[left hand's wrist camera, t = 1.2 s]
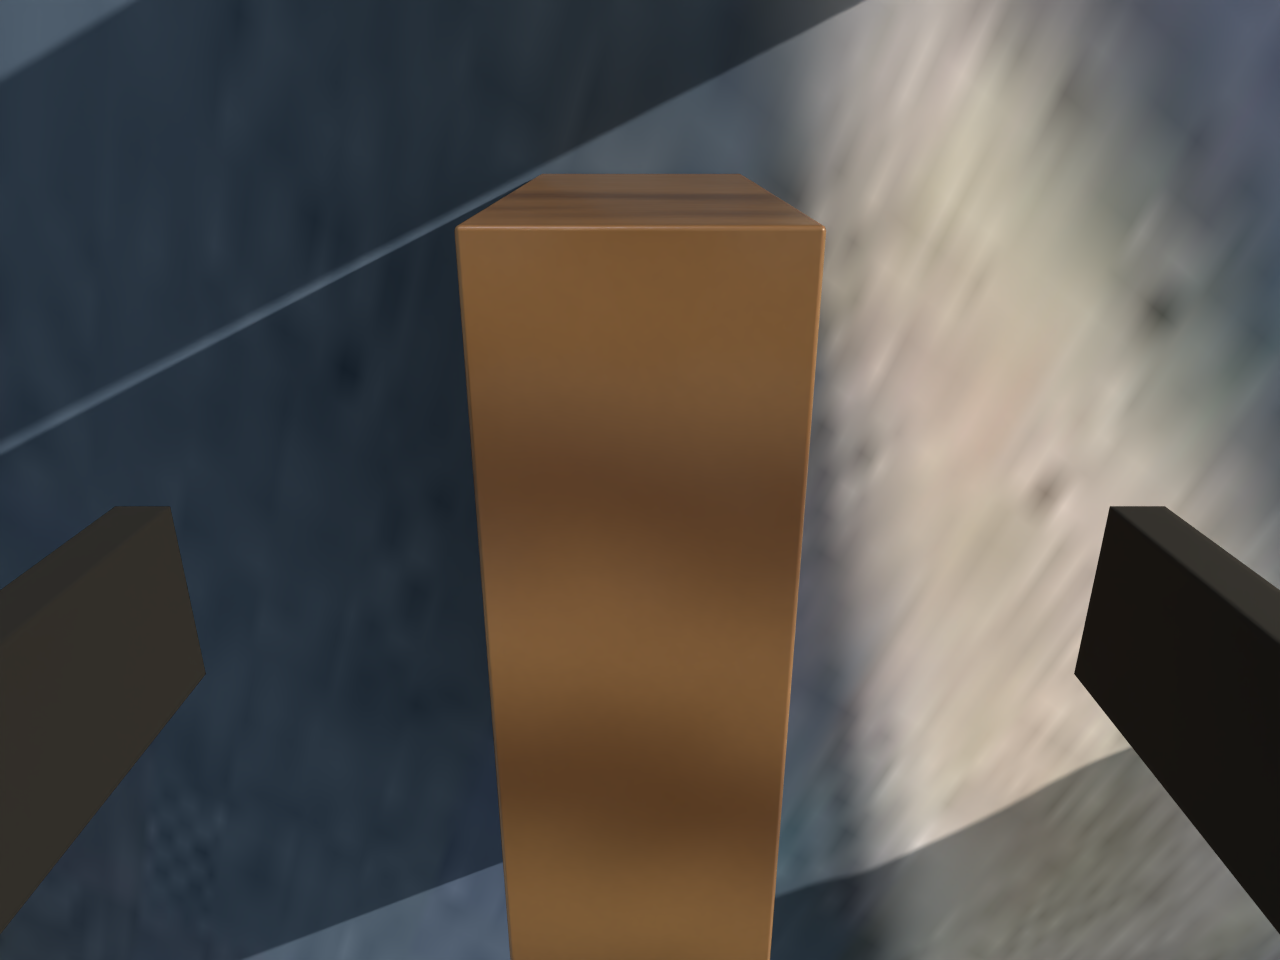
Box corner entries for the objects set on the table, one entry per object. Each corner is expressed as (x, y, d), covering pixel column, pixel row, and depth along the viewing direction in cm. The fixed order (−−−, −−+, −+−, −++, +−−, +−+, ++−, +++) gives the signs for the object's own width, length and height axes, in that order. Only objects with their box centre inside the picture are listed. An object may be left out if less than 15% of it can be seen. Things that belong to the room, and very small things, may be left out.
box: (539, 173, 26) (452, 225, 14) (742, 173, 26) (827, 225, 14) (564, 783, 34) (523, 1137, 23) (717, 783, 34) (757, 1138, 23)
